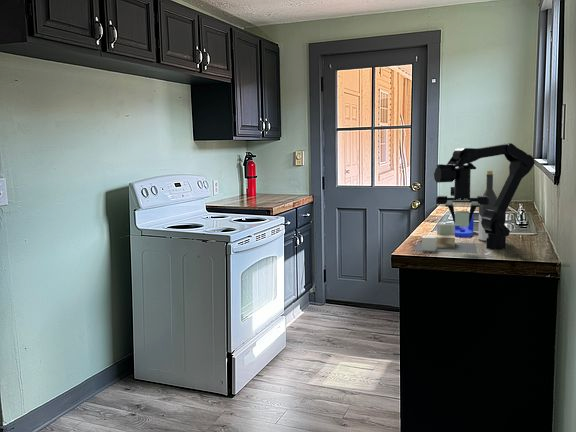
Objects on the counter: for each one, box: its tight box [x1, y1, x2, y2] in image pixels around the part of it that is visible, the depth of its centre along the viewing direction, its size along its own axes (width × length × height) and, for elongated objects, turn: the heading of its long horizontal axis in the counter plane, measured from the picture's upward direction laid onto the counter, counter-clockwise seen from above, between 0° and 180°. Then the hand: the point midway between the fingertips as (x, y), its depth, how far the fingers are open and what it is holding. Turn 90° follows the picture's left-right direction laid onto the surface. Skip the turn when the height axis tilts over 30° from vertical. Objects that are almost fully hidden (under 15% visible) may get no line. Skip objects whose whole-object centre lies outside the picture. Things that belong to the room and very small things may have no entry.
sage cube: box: [454, 210, 470, 227], centre depth 207 cm, size 5×5×5 cm
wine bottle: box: [478, 170, 498, 243], centre depth 227 cm, size 8×8×30 cm
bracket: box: [453, 213, 475, 238], centre depth 251 cm, size 18×8×9 cm, turn 159°
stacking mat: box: [413, 223, 478, 254], centre depth 216 cm, size 23×20×9 cm
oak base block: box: [436, 234, 456, 248], centre depth 218 cm, size 7×7×4 cm
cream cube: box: [421, 235, 437, 252], centre depth 212 cm, size 5×5×5 cm
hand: (461, 222), depth 208 cm, fingers closed on sage cube, 5 cm apart
